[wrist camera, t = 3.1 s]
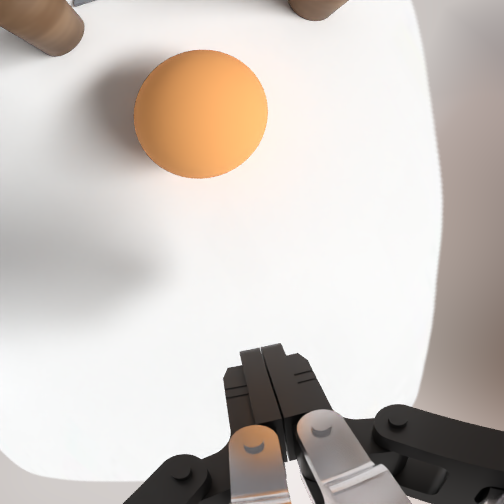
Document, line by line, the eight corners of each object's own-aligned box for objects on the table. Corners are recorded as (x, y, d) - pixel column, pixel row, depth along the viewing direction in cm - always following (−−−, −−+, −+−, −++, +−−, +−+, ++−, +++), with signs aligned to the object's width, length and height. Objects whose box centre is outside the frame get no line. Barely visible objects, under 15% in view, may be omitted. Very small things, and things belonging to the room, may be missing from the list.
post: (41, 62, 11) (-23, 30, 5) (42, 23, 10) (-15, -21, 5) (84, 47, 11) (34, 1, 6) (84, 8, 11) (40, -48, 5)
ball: (152, 182, 14) (133, 198, 9) (138, 78, 12) (114, 46, 8) (260, 165, 15) (292, 173, 10) (246, 62, 13) (273, 26, 8)
